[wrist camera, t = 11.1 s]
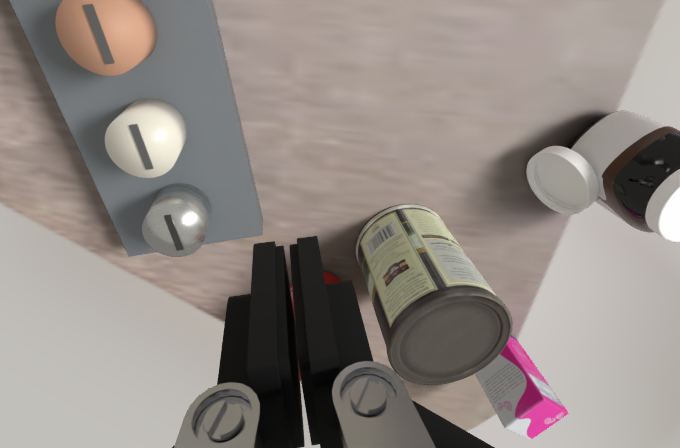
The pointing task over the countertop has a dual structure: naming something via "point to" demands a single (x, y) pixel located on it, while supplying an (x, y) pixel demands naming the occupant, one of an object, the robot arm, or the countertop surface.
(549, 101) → the countertop surface
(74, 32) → the knob near
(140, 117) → the knob middle
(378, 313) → the coffee can
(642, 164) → the spread jar
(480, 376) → the supplement box
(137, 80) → the mount board
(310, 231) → the countertop surface
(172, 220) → the knob far
